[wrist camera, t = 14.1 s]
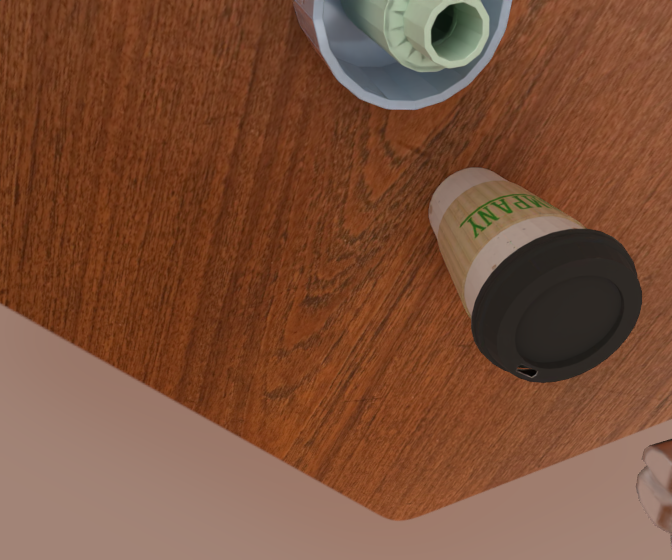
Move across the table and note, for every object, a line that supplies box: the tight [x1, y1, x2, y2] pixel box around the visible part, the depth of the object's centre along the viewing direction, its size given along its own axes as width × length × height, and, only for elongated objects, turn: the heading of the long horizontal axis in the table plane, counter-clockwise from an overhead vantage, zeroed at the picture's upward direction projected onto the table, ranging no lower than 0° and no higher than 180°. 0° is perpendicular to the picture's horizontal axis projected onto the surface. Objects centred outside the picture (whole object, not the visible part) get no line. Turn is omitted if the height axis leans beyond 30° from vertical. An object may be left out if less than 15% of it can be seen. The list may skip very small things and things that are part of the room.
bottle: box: [341, 0, 489, 72], centre depth 30 cm, size 5×5×13 cm
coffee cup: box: [429, 168, 642, 383], centre depth 39 cm, size 10×10×15 cm
